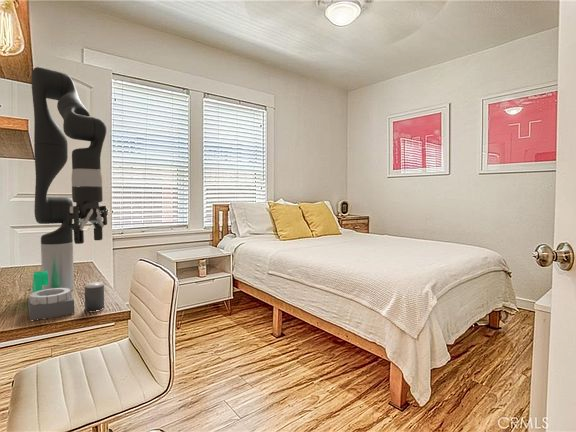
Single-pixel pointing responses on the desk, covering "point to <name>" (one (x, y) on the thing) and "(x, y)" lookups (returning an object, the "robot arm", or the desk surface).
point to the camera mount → (39, 280)
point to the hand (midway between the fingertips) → (89, 241)
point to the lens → (94, 296)
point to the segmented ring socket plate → (50, 303)
